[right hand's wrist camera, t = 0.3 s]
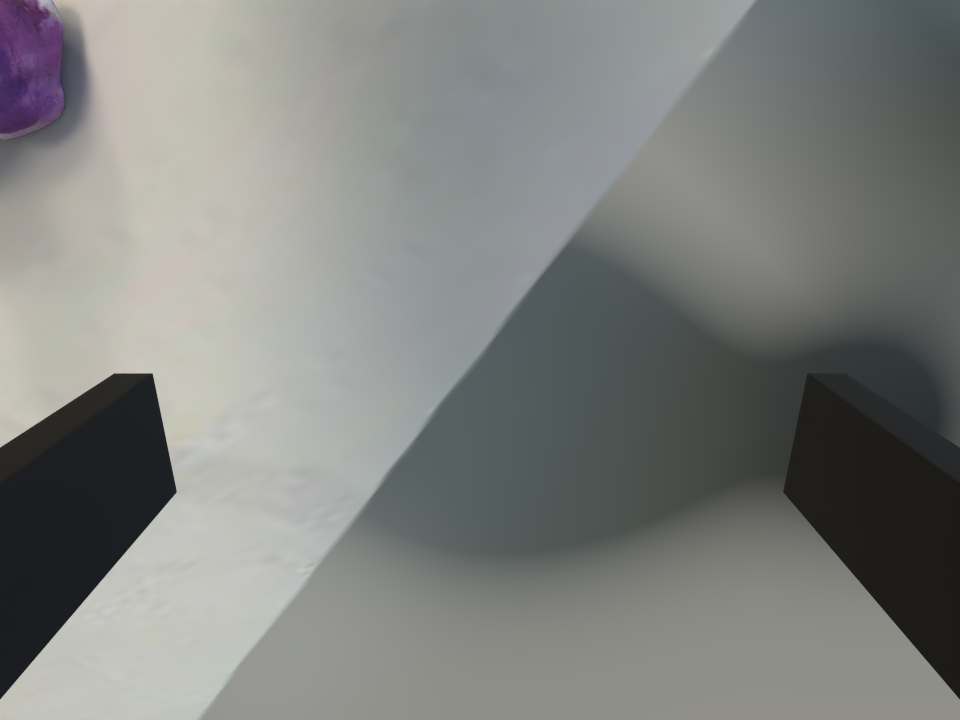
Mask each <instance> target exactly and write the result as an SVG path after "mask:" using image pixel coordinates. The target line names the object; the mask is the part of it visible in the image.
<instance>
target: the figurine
mask: <svg viewBox="0 0 960 720" xmlns="http://www.w3.org/2000/svg"><path fill="white" fill-rule="evenodd" d="M62 40H63V27H62V21H61V18H60V15H59V12H58V10H57V8H56V6H55V4H54V2H53V0H0V139H3V140H8V139H13V138H16V137H20V136H23V135H26V134H29V133H30V132H33V131H36V130H39V129H41V128H43V127H44V126H46V125H49V124H50V123H52V122H54V121H55V120H57V119H58V118H59V117H60V115H61V113H62V111H63V109H64V91H63V89H62V86H61V62H62Z"/></svg>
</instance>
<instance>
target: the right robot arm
mask: <svg viewBox="0 0 960 720" xmlns="http://www.w3.org/2000/svg"><path fill="white" fill-rule="evenodd" d="M176 492H177V491H176V486H175V481H174V476H173V471H172V466H171V462H170V457H169V452H168V447H167V442H166V437H165V432H164V427H163V422H162V418H161V413H160V408H159V403H158V398H157V393H156V388H155V383H154V378H153V374H113V375H111V376H110V377H108V378H107V379H105V380H104V381H102V382H101V383H99V384H98V385H96V386H94V387H93V388H91V389H90V390H88V391H87V392H85V393H84V394H82V395H81V396H79V397H78V398H76V399H74V400H73V401H71V402H70V403H68V404H67V405H65V406H64V407H62V408H61V409H59V410H58V411H56V412H54V413H53V414H51V415H50V416H48V417H47V418H45V419H44V420H42V421H41V422H39V423H38V424H36V425H34V426H33V427H31V428H30V429H28V430H27V431H25V432H24V433H22V434H21V435H19V436H18V437H16V438H14V439H13V440H11V441H10V442H8V443H7V444H5V445H4V446H2V447H1V448H0V699H1V698H2V697H3V695H4V694H5V693H6V692H7V691H8V689H9V688H10V687H11V686H12V685H13V684H14V682H15V681H16V680H17V679H18V678H19V677H20V675H21V674H22V673H23V672H24V671H25V670H26V668H27V667H28V666H29V665H30V664H31V662H32V661H33V660H34V659H35V658H36V657H37V655H38V654H39V653H40V652H41V651H42V650H43V648H44V647H45V646H46V645H47V644H48V643H49V641H50V640H51V639H52V638H53V637H54V635H55V634H56V633H57V632H58V631H59V630H60V628H61V627H62V626H63V625H64V624H65V623H66V621H67V620H68V619H69V618H70V617H71V616H72V614H73V613H74V612H75V611H76V610H77V608H78V607H79V606H80V605H81V604H82V603H83V601H84V600H85V599H86V598H87V597H88V596H89V594H90V593H91V592H92V591H93V590H94V589H95V587H96V586H97V585H98V584H99V583H100V581H101V580H102V579H103V578H104V577H105V576H106V574H107V573H108V572H109V571H110V570H111V569H112V567H113V566H114V565H115V564H116V563H117V562H118V560H119V559H120V558H121V557H122V556H123V554H124V553H125V552H126V551H127V550H128V549H129V547H130V546H131V545H132V544H133V543H134V542H135V540H136V539H137V538H138V537H139V536H140V535H141V533H142V532H143V531H144V530H145V529H146V527H147V526H148V525H149V524H150V523H151V522H152V520H153V519H154V518H155V517H156V516H157V515H158V513H159V512H160V511H161V510H162V509H163V508H164V506H165V505H166V504H167V503H168V502H169V500H170V499H171V498H172V497H173V496H174V495H175V493H176ZM783 492H784V493H785V495H786V496H787V497H788V498H789V499H790V500H791V502H792V503H793V504H794V505H795V506H796V507H797V509H798V510H799V511H800V512H801V513H802V515H803V516H804V517H805V518H806V519H807V520H808V522H809V523H810V524H811V525H812V526H813V527H814V529H815V530H816V531H817V532H818V533H819V535H820V536H821V537H822V538H823V539H824V540H825V542H826V543H827V544H828V545H829V546H830V547H831V549H832V550H833V551H834V552H835V553H836V554H837V556H838V557H839V558H840V559H841V560H842V562H843V563H844V564H845V565H846V566H847V567H848V569H849V570H850V571H851V572H852V573H853V574H854V576H855V577H856V578H857V579H858V580H859V581H860V583H861V584H862V585H863V586H864V587H865V588H866V590H867V591H868V592H869V593H870V594H871V596H872V597H873V598H874V599H875V600H876V601H877V603H878V604H879V605H880V606H881V607H882V608H883V610H884V611H885V612H886V613H887V614H888V616H889V617H890V618H891V619H892V620H893V621H894V623H895V624H896V625H897V626H898V627H899V628H900V630H901V631H902V632H903V633H904V634H905V635H906V637H907V638H908V639H909V640H910V641H911V643H912V644H913V645H914V646H915V647H916V648H917V650H918V651H919V652H920V653H921V654H922V655H923V657H924V658H925V659H926V660H927V661H928V662H929V664H930V665H931V666H932V667H933V668H934V669H935V671H936V672H937V673H938V674H939V675H940V676H941V678H942V679H943V680H944V681H945V682H946V684H947V685H948V686H949V687H950V688H951V689H952V691H953V692H954V693H955V694H956V695H957V696H958V698H959V699H960V448H959V447H958V446H956V445H955V444H953V443H952V442H950V441H949V440H947V439H946V438H944V437H942V436H941V435H939V434H938V433H936V432H935V431H933V430H932V429H930V428H929V427H927V426H925V425H924V424H922V423H921V422H919V421H918V420H916V419H915V418H913V417H912V416H910V415H909V414H907V413H906V412H904V411H902V410H901V409H899V408H898V407H896V406H895V405H893V404H892V403H890V402H889V401H887V400H886V399H884V398H882V397H881V396H879V395H878V394H876V393H875V392H873V391H872V390H870V389H869V388H867V387H865V386H864V385H862V384H861V383H859V382H858V381H856V380H855V379H853V378H852V377H850V376H849V375H847V374H807V378H806V383H805V388H804V393H803V398H802V403H801V408H800V413H799V418H798V423H797V428H796V432H795V437H794V442H793V447H792V452H791V457H790V462H789V466H788V472H787V476H786V481H785V486H784V491H783Z"/></svg>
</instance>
